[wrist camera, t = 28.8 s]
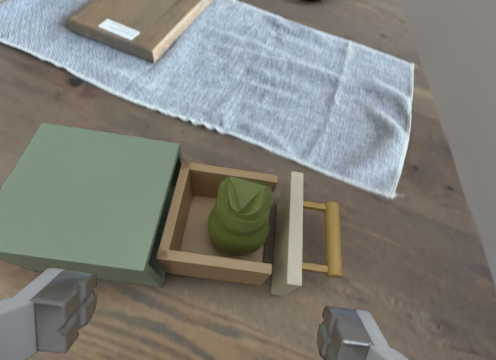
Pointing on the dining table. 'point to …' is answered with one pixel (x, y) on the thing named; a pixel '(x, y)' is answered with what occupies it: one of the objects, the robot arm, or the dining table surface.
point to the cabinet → (89, 204)
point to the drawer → (251, 266)
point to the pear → (240, 216)
